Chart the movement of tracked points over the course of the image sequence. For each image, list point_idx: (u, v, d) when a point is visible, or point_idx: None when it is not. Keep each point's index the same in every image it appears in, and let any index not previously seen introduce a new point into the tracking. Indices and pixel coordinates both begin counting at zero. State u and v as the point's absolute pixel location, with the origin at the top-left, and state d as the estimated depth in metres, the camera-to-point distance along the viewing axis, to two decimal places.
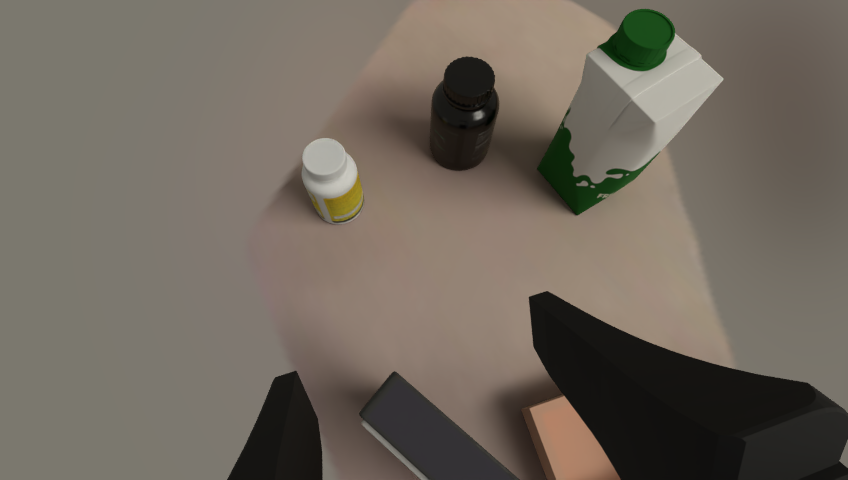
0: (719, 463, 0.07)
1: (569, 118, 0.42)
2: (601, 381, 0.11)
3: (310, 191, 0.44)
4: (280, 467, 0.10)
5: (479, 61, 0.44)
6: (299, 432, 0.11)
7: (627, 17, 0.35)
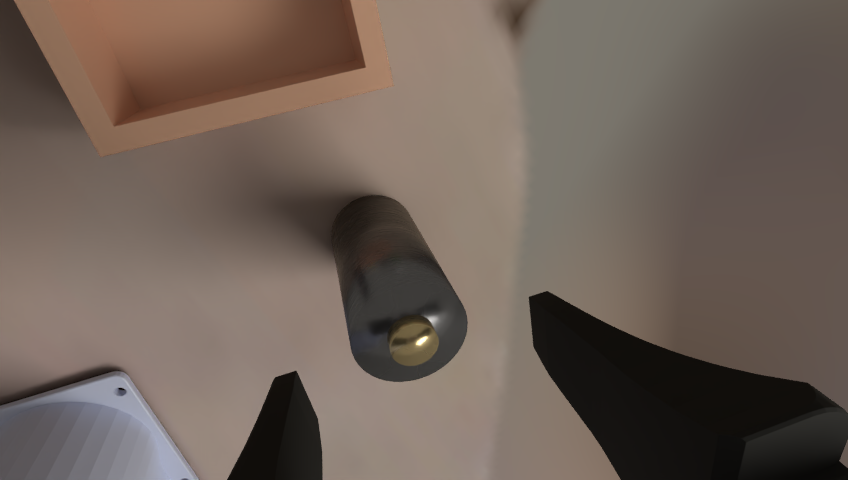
0: (719, 463, 0.07)
1: None
2: (601, 381, 0.11)
3: None
4: (280, 467, 0.10)
5: None
6: (299, 432, 0.11)
7: None
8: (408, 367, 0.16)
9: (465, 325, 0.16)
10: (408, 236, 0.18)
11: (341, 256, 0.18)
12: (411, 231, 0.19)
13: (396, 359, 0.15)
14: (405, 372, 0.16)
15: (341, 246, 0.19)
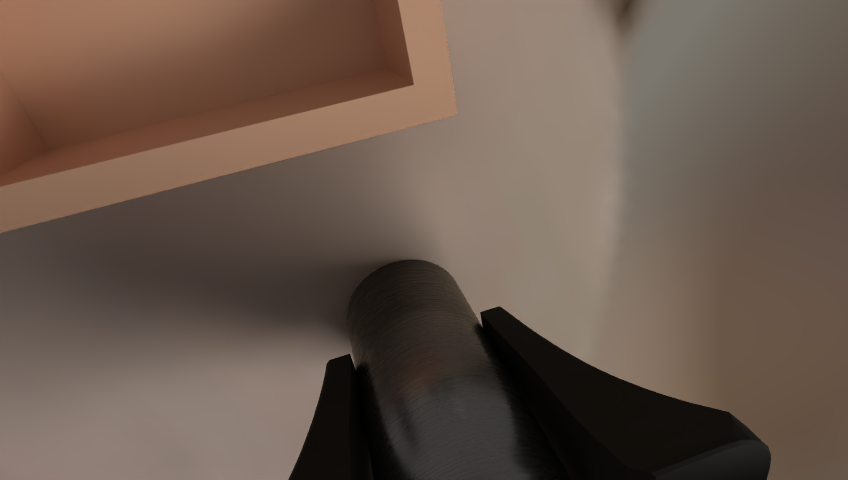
0: None
1: None
2: (541, 402, 0.11)
3: None
4: (351, 443, 0.10)
5: None
6: (358, 412, 0.12)
7: None
8: None
9: None
10: (471, 345, 0.11)
11: (365, 370, 0.12)
12: (472, 331, 0.12)
13: None
14: None
15: (364, 350, 0.13)
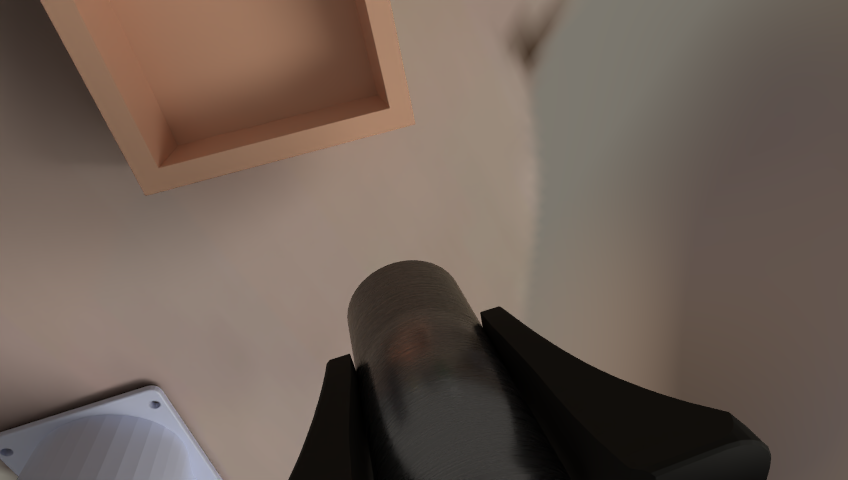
0: None
1: None
2: (541, 402, 0.11)
3: None
4: (351, 443, 0.10)
5: None
6: (358, 412, 0.12)
7: None
8: None
9: None
10: (471, 345, 0.11)
11: (365, 370, 0.12)
12: (472, 331, 0.12)
13: None
14: None
15: (365, 351, 0.13)
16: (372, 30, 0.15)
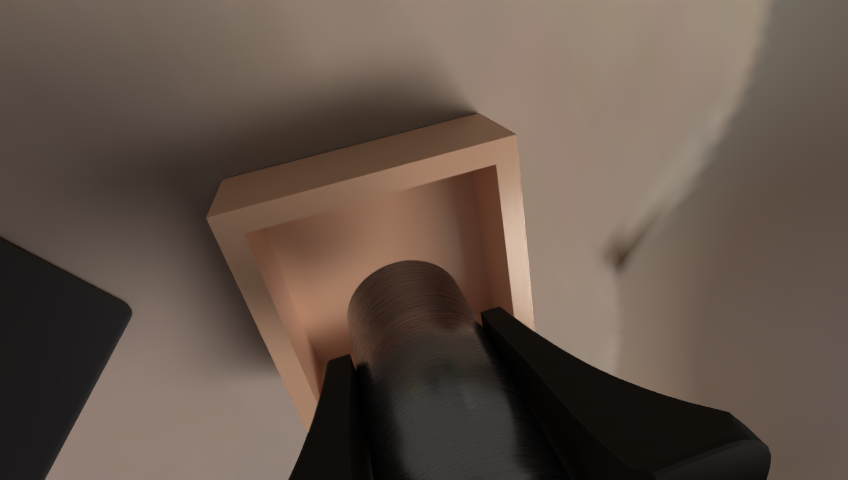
0: None
1: None
2: (541, 402, 0.11)
3: None
4: (351, 443, 0.10)
5: None
6: (358, 412, 0.12)
7: None
8: None
9: None
10: (471, 345, 0.11)
11: (365, 370, 0.12)
12: (472, 331, 0.12)
13: None
14: None
15: (365, 350, 0.13)
16: (512, 299, 0.18)
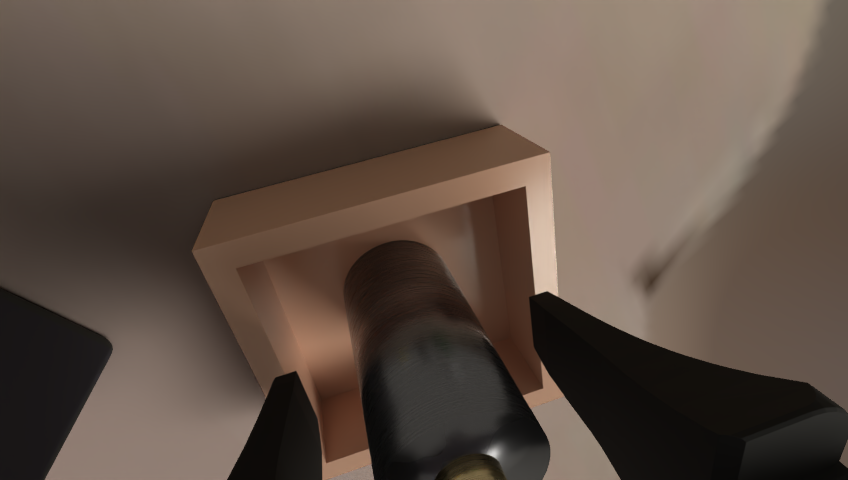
0: (718, 463, 0.07)
1: None
2: (601, 381, 0.11)
3: None
4: (280, 467, 0.10)
5: None
6: (299, 432, 0.11)
7: None
8: None
9: (546, 459, 0.11)
10: (454, 311, 0.13)
11: (359, 335, 0.13)
12: (455, 300, 0.13)
13: None
14: None
15: (358, 319, 0.14)
16: None
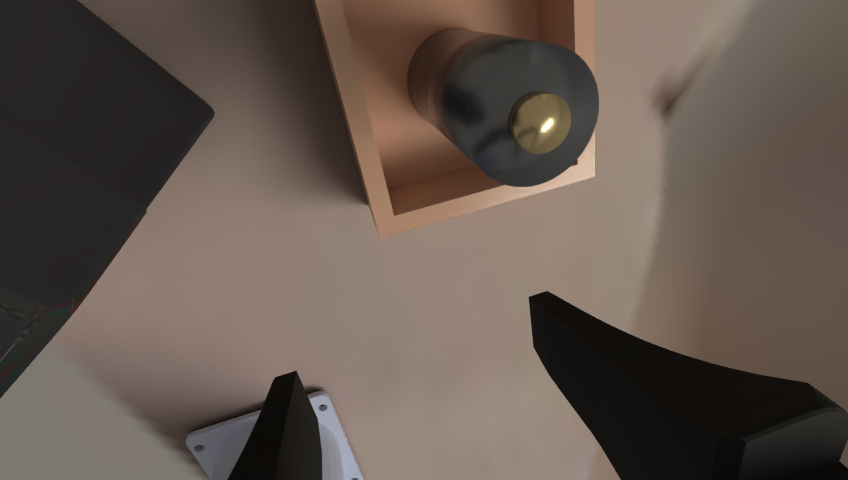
0: (718, 463, 0.07)
1: None
2: (601, 381, 0.11)
3: None
4: (280, 467, 0.10)
5: None
6: (299, 432, 0.11)
7: None
8: (526, 167, 0.14)
9: (595, 115, 0.13)
10: None
11: (432, 69, 0.16)
12: None
13: (521, 141, 0.12)
14: (521, 174, 0.14)
15: (429, 63, 0.17)
16: None
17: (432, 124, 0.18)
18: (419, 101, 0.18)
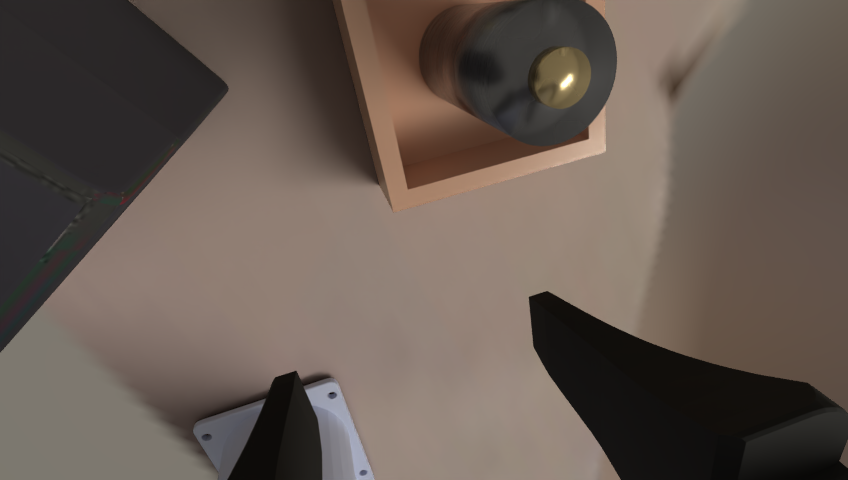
0: (719, 463, 0.07)
1: None
2: (601, 381, 0.11)
3: None
4: (280, 467, 0.10)
5: None
6: (299, 432, 0.11)
7: None
8: (545, 125, 0.14)
9: (613, 73, 0.13)
10: None
11: (447, 38, 0.16)
12: None
13: (542, 95, 0.13)
14: (541, 132, 0.14)
15: (444, 33, 0.17)
16: None
17: (446, 96, 0.18)
18: (432, 74, 0.18)
